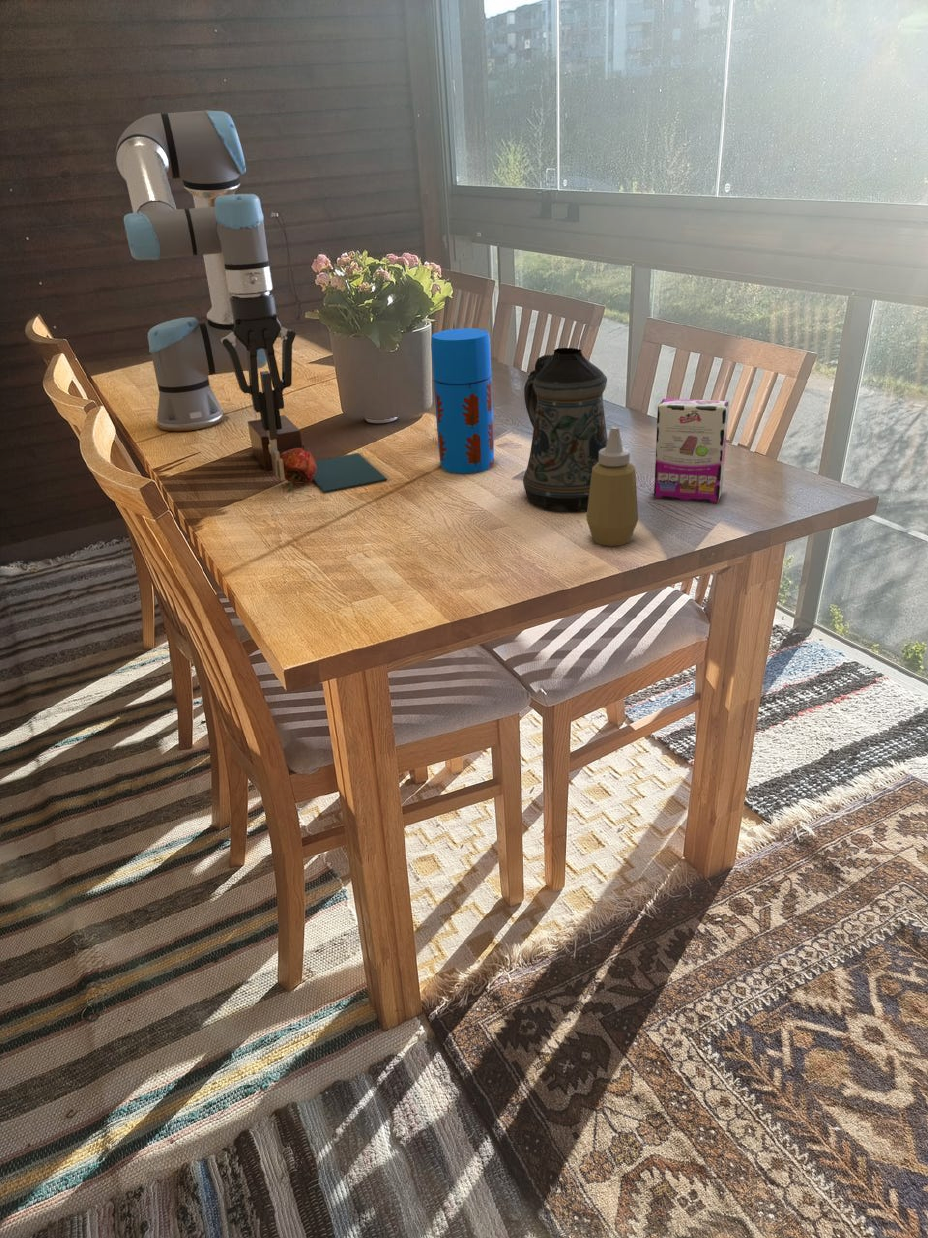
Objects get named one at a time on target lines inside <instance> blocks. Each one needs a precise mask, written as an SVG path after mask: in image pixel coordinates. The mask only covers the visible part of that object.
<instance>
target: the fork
mask: <svg viewBox="0 0 928 1238" xmlns="http://www.w3.org/2000/svg"><path fill="white" fill-rule="evenodd" d="M259 376H260V377H259V378H260V384H261V392H262V393H263V394H264V398H265V404H266V411H267V417H268V424H269V430H268V431H267V437H268V438H269V442H270V445H268V446H269V453H270V454H271V458H272V467H273V470H272V475H273V476H274V477H275V479H276V480H277V479H278V480H280V482H284V481H286V479H285V475H284V465H283V460H282V459H280V454H279V452H278V450H277V441H276V439H278V437H277V428H276V419H275V410H274V401H273V392H272V390H273V385H272V381H271V374H270V372H269V370H263V371H259Z"/></svg>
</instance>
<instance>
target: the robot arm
mask: <svg viewBox="0 0 928 1238" xmlns="http://www.w3.org/2000/svg"><path fill="white" fill-rule="evenodd" d="M243 152H244V151H243V149H242V144H241V141H240V137H239V134H238V131H237V128H236V125H235V123H234V120H233V118H232V117H231V115H230V114H229V113H228V112H226V111H222V110H207V109H205V110H193V111H181V112H180V111H179V112H167V113H152V114H148V115H147V114H146V115H144V116H142V117H140V118H138V119H136V120H135V121H133V122H132V123H131V124H130V125H128V126H127V128H126V129H125V130H124V131H123V133H122V134H121V136H120V137H119V139H118V141H117V144H116V148H115V161H116V167H117V169H118V172H119V174H120V175H121V177H122V178H123V179H124V180H125V182H126V187H127V190H128V195H129V200H130V205H131V209H132V212H131V213H127V214H125V215H124V216H123V224H124V230H125V233H126V239H127V243H128V247H129V251H130V255H131V257H132V258H133V259H135V260H137V261H150V260H152V261H158V260H164V259H173V258H174V259H175V258H183V257H193V256H203V263H204V268H205V275H206V279H207V285H208V290H209V296H210V302H211V303H210V304H211V308H210V309H209V310H208V311H207V313H206V320H207V322H203V323H199V320H198V318H196V317H194V316H188V317H180V318H175V319H172V320H167V321H164V322H161V323H158V324H157V325H155V326H153V327H151V328H150V329H149V330H148V332H147V341H148V347H149V349H148V353H150V355H151V359H152V365H153V369H154V375H155V379H156V384H157V387H158V392H159V393H158V394H159V396H158V405H157V408H158V409H157V416H156V421H157V425H158V428H159V429H160V430H163V431H167V432H190V431H197V430H203V429H206V428H209V427H213V426H216V425H218V424H220V423H222V422H223V421H224V420H225V417H224V411H223V409H222V406H221V405H220V402H219V401H218V399H217V397H216V395H215V393H214V391H213V390H212V388H211V385H210V380H209V376H216V375H222V374H223V375H224V374H231V373H234V376H235V378H236V381H237V384H238V387H239V390H240V391H241V392H242V393H243V394H250V395H251V401H252V407H253V410H254V411H255V413H259V415H260V419H261V422H262V427H263V429H264V430H265V431H268V430H269V424H268V417H267V411H266V404H265V398H264V394H263V393H262V391H260V382H259V381H260V380H259V369H262V368H264V367H265V366H266V365H267V368H268V372H269V373H270V374H271V383H272V392H273V401H274V410H275V419H276V427H277V428H278V429H280V428H282V425H281V418H280V416H281V413H280V412H281V411H280V410H283V409H284V408H285V401H284V394H283V392H284V390H285V389H287V388H290V387H291V386H292V383H293V382H292V381H293V380H292V378H293V377H292V375H293V372H292V371H293V343H294V341H295V338H296V336H297V335H296V332H295V331H294V330H292V329H291V328H286V327H284V326H282V324H281V322H280V321H279V319H278V314H277V307H276V299H275V295H274V294H273V293H272V292H271V291H273V289H274V287H273V286H274V285H273V279H272V273H271V265H270V260H269V255H268V254H269V253H268V246H267V238H266V232H265V231H266V230H265V223H264V219H265V217H264V213H263V210H262V205H261V200H260V198H259V196H258V195H256V194H254V193H238V194H235V192H236V191H237V189H238V188H239V187H240V186H241V179H240V178H241V177H240V176H243V175H244V174H246V173H247V167H246V161H245V156H244V153H243ZM169 179H170V180H171V179H182V184H183V185H182V186H183V188H184V189H185V190H186V191H187V192H188V193H190V194H191V195H192V198H193V203H194V204H193V205H194V207H193V208H192V207H191V208H177V206H176V204H175V202H176V201H175V199H174V196H173V192H172V188H171V185H170V181H169ZM279 334H280V339H281V340H282V345H281V377H280V371H279V367H278V363H277V358H276V355H275V353H276V352H275V349H274V345H275V343H276V341H277V339H278V337H279ZM244 372H248V381H249V384H248V382H247V379H246V377H245V373H244Z"/></svg>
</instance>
